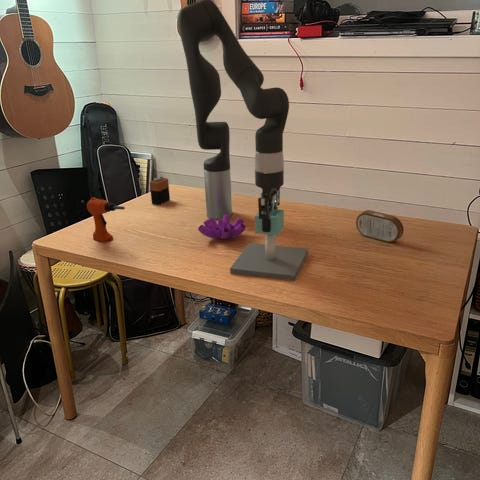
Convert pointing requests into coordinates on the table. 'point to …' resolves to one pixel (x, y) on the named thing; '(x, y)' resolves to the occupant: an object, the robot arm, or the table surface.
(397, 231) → the tin
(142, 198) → the table surface
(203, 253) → the table surface
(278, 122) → the robot arm
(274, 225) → the collar
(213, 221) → the purple coral
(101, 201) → the toy drill
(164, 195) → the battery
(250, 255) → the post plate
